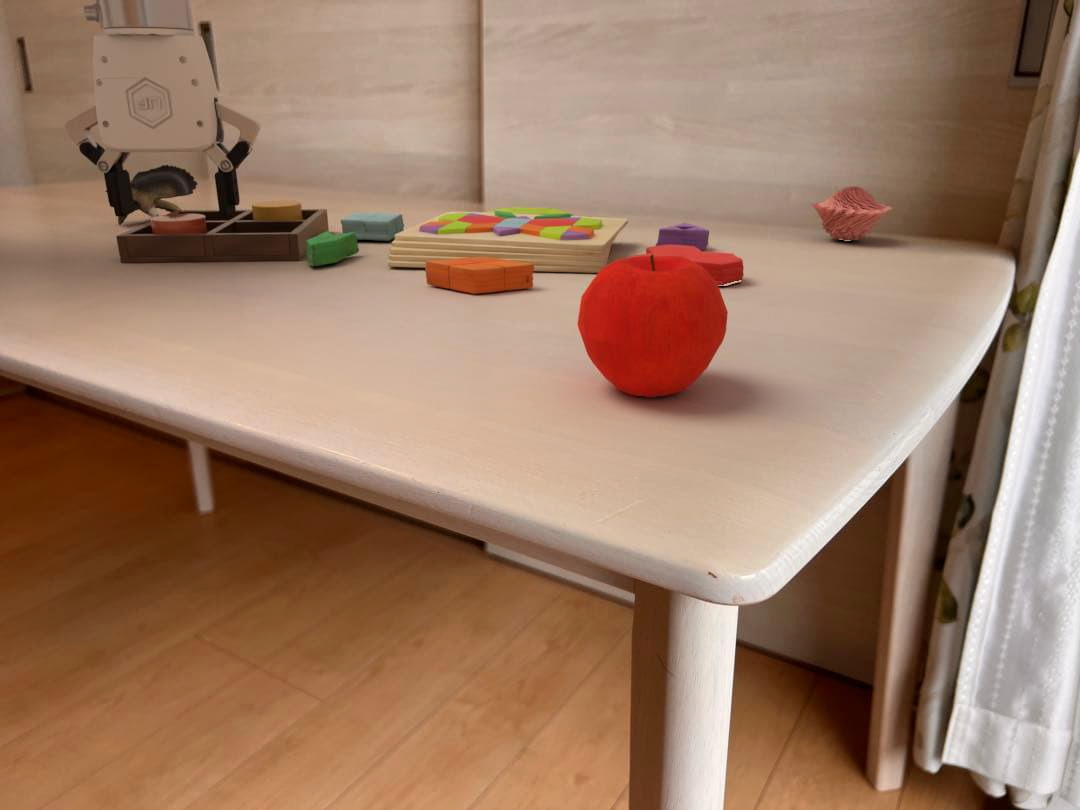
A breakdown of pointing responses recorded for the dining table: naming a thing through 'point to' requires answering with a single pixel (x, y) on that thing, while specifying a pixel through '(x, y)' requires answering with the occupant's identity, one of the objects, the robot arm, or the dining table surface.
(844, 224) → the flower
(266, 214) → the mustard yellow cylinder
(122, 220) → the bracket fungus on branch
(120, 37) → the robot arm
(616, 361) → the apple
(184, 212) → the grid
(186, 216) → the cylinder
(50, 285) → the dining table surface
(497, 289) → the pattern blocks set
